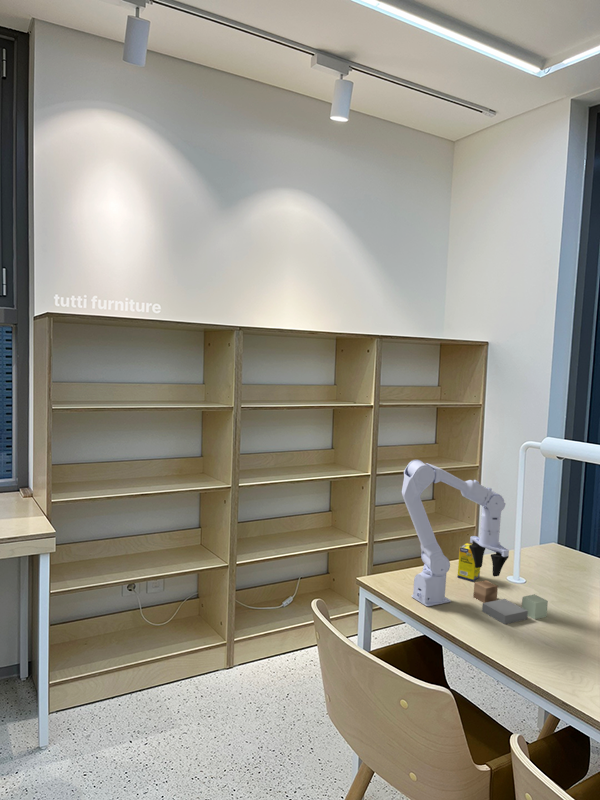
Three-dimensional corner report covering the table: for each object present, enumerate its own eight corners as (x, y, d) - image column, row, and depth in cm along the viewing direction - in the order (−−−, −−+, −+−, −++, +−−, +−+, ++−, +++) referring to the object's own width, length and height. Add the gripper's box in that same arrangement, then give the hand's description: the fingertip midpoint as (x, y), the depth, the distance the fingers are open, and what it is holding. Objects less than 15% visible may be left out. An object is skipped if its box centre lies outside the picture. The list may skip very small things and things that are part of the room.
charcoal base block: (504, 625, 171) (505, 615, 171) (481, 612, 179) (482, 603, 179) (526, 620, 175) (527, 610, 175) (503, 608, 183) (504, 598, 183)
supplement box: (473, 582, 202) (476, 550, 201) (456, 577, 205) (459, 546, 204) (480, 577, 207) (482, 546, 206) (463, 572, 210) (465, 542, 209)
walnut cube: (484, 603, 185) (485, 588, 184) (473, 597, 189) (474, 582, 189) (496, 601, 187) (497, 586, 187) (485, 595, 192) (486, 580, 191)
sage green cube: (534, 619, 175) (535, 603, 175) (521, 612, 180) (522, 596, 179) (546, 616, 177) (547, 600, 177) (533, 610, 182) (534, 594, 181)
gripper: (517, 534, 182) (514, 578, 183) (482, 521, 194) (480, 562, 196) (500, 537, 178) (497, 581, 180) (466, 523, 191) (463, 564, 192)
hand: (487, 571), depth 187 cm, fingers open, 7 cm apart
